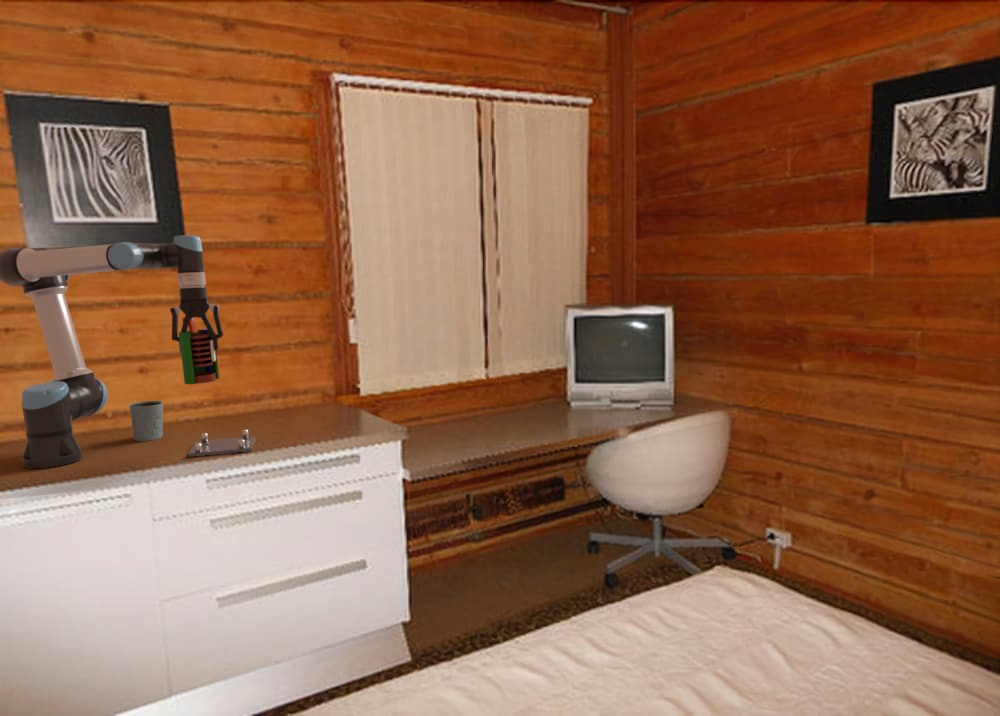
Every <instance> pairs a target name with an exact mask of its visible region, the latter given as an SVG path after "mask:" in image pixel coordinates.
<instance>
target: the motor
mask: <svg viewBox="0 0 1000 716" xmlns="http://www.w3.org/2000/svg"><path fill="white" fill-rule="evenodd" d="M184 318H185V317H182V323H183V322H184ZM197 327H198V326H197V323H196V320H195V317H194V318H190V319H189V323H188V328H189V330H187V332H186V333H181V331H179V332H178V337H179V340H180V347H179V350H180V349H181V352H180V356H181V363H182V373H183V374H182V375H183V380H184V384H185V385H196V384H206V383H211V382H216V380H220V374H219V372H220V371H219V365H218V363H219V362H218V356H217V350H215V356H216V361H212V356H211V347H210V340H212V337H211V335H210V333H209V331H208V329H207V328H206V329H198V328H197Z"/></svg>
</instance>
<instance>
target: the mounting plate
mask: <svg viewBox="0 0 1000 716" xmlns="http://www.w3.org/2000/svg"><path fill="white" fill-rule="evenodd" d="M241 433H242V437H240V436H239V437H230V438H229V437H228V438H218V439H217V438H216V439H209V437H208V436H209V435H208V432H202V433H201V434H200V435H201V440H196V441H195V442H194V444H193V446H192V447H191V449H190V450H189V452H188V453H187V456H188V457H190V458H194V457H193V456H201V457H203V456H202V455H212V456H216V455H215V454H223V455H227V454H226V453H233V454H239V453H238V452H244V453H252V452H253V449H254V446H255V443H256V436H255V435H252V436H249V429H242V432H241ZM254 442H255V443H254ZM253 445H254V446H253Z"/></svg>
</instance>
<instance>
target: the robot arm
mask: <svg viewBox="0 0 1000 716" xmlns="http://www.w3.org/2000/svg"><path fill="white" fill-rule="evenodd" d="M203 251H204V250H203V245H202V239H201V238H200V236H198V235H195V234H193V235H192V234H190V235H176V236H174V238H173V242H170V243H143V242H131V241H122V242H117V243H113V244H99V245H89V246H81V247H80V246H78V247H69V248H68V247H67V248H57V249H52V248H46V247H15V246H14V247H9V248H5V249H2V250H0V281H1V283H4V284H5V285H8V286H12V287H20V288H21V287H22V290H23V293H24V296H26V297H28V298H29V299H31V300H32V302H33V306H34V309H35V312H36V315H37V319H38V322H39V325H40V329H41V332H42V335H43V339H44V342H45V346H46V349H47V352H48V356H49V359H50V362H51V365H52V368H53V369H52V370H53V372H54V375H53V377H52V379H51V381H45V382H42V383H37V384H33V385H31V386H28V387H27V388H25V389H24V390H23V391H22V393H21V407H22V414H23V420H24V429H25V430H24V431H25V435H26V441H25V444H24V448H23V449H24V450H23V454H22V456H21V463H22V467H23V468H24V467H25V469H30V468H32V470H33V468H35V469H36V468H39V469H49V468H48V467H50V468H55V467H54V466H56V467H60V466H59V465H62V466H65V465H64V464H66V465H70V464H73V463H76V462H78V461H80V460H82V459H83V450H82V448H81V446H80V444H79V442H78V440H77V439H76V436H75V435H74V430H73V423H72V422H73V421H75V420H79V419H82V418H87V417H90V416H92V415H94V414H96V413H99V412H100V411H101V410H102V409H104V406H105V405H106V403H107V401H108V389H107V387H106V385H105V383H104V382H103V381H101V380H100V379H98V378H96V377H95V374H94V371H93V370H91V369H90V368H87V366H86V363H85V360H84V356H83V353H82V348H81V347H80V343H79V340H78V335H77V332H76V330H75V327H74V326H75V325H74V322H73V319H72V316H71V313H70V309H69V306H68V305H69V304H68V302H67V299H66V295H65V294H66V292H67V291H68V289H69V287H68V283H67V282H68V281H69V280H70V277H71V275H83V274H92V273H95V274H96V273H103V272H115V271H129V270H130V271H131V270H147V271H149V270H150V271H151V270H152V271H155V270H164V269H176V271H177V279H178V280H177V281H178V286H179V287H180V288H179V297H180V304H179V306H175V307H171V308H170V309H169V311H170V314H171V317H172V318H171V340H172V341H176V342H178V346H179V347H178V348H179V352H180V353H181V349H180V340H179V332H178V331H179V314H180V311H181V312H182V313H183V314H184V317H183V318H184V322H183V321H182V327H181V330H180V332H181V333H186V332H187V331H188V328H189V326H188V323H189V319H190V318H194V319H195V318H201V320H202V322H203V324H204V325H205V327H206V329H208V331H209V333H210V335H211V337H212V340H210V347H211V356H212V361H216V356H215V350H216V351H218V349H219V342H218V340H219V339H221V338H223V336H224V332H223V328H222V323H221V319H220V315H219V314H220V313H219V311H220V306H219V305H217V304H216V305H214V304H210V302H209V300H208V293H207V292H208V291H207V288H206V285H207V282H206V281H207V280H206V273H205V267H204V266H205V265H204V254H203ZM209 309H210V312H211V313H213V318H214V323H215V329H216V331H217V332H215V329H214V327H213V326H212V324H211V321H210V320H209V318H208V315H207V312H208V310H209ZM81 458H82V459H81ZM75 461H76V462H75ZM72 462H73V463H72ZM69 463H70V464H69Z"/></svg>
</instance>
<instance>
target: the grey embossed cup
mask: <svg viewBox="0 0 1000 716" xmlns="http://www.w3.org/2000/svg"><path fill="white" fill-rule="evenodd" d="M128 405H129V412H130V417H131V426H132V430H133V438H134V441H135V440H136V442H150V441H149V440H152V441H156V439H157V440H160V439H162V438H163V437H162V436H164V434H163V432H164V430H163V429H164V426H163V425H164V422H163V421H164V418H163V417H164V415H163V414H164V412H163V411H164V402H163V401H161V400H159V401H158V400H146V401H137V402H132V403H131V404H128ZM161 437H162V438H161ZM159 438H160V439H159Z"/></svg>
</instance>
